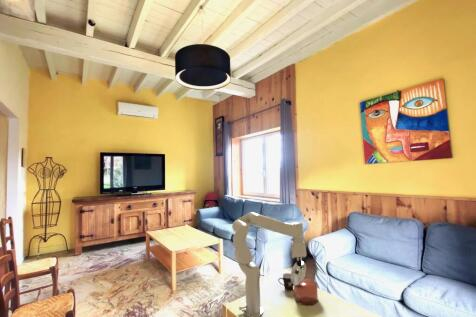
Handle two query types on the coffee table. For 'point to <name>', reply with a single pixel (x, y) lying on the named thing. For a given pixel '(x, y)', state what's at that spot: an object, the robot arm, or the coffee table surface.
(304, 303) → the red-brown rounded block
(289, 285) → the coffee mug
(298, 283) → the cooker lid
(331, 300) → the coffee table surface
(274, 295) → the coffee table surface
